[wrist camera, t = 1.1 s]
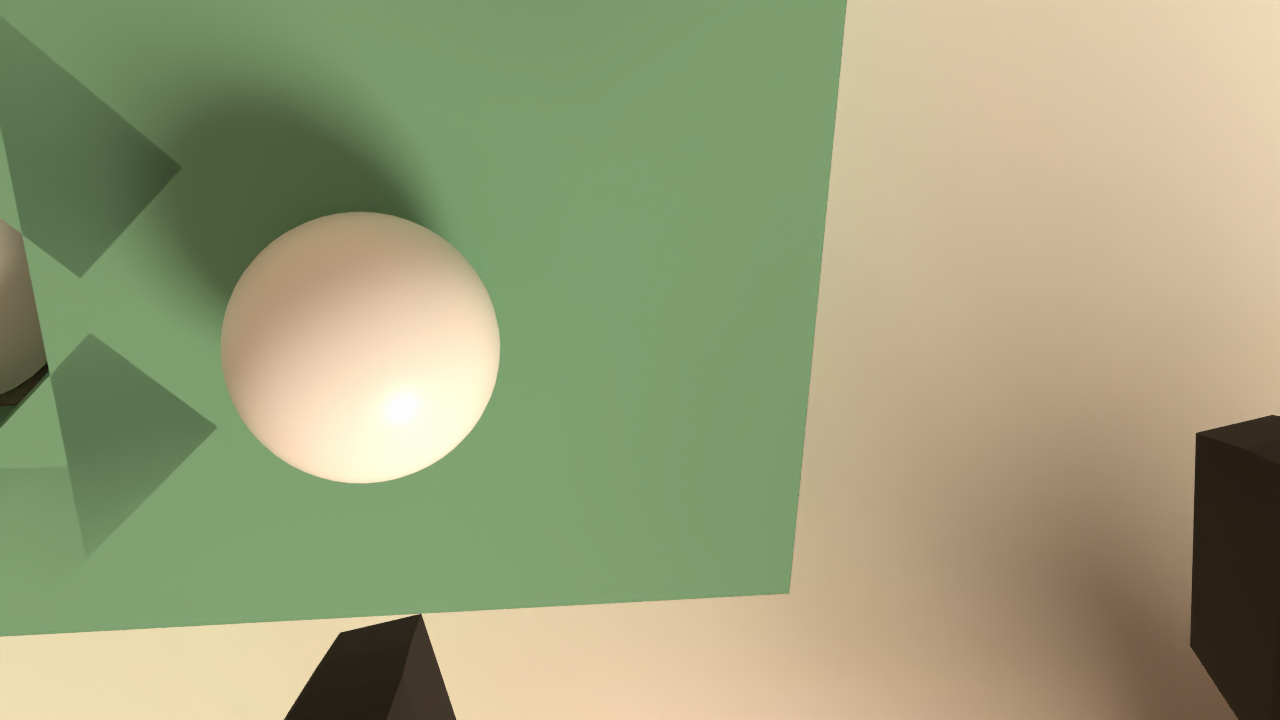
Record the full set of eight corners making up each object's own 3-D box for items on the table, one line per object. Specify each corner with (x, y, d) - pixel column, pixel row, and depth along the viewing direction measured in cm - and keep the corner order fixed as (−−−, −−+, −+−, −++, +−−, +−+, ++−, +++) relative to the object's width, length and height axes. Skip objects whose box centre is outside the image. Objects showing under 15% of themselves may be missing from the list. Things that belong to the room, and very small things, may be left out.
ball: (495, 179, 14) (500, 260, 11) (501, 406, 16) (505, 528, 13) (235, 181, 14) (171, 265, 11) (262, 413, 15) (211, 542, 12)
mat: (811, -102, 15) (856, -98, 14) (759, 524, 19) (789, 593, 18) (-598, -142, 13) (-771, -144, 11) (-330, 575, 17) (-426, 659, 15)
